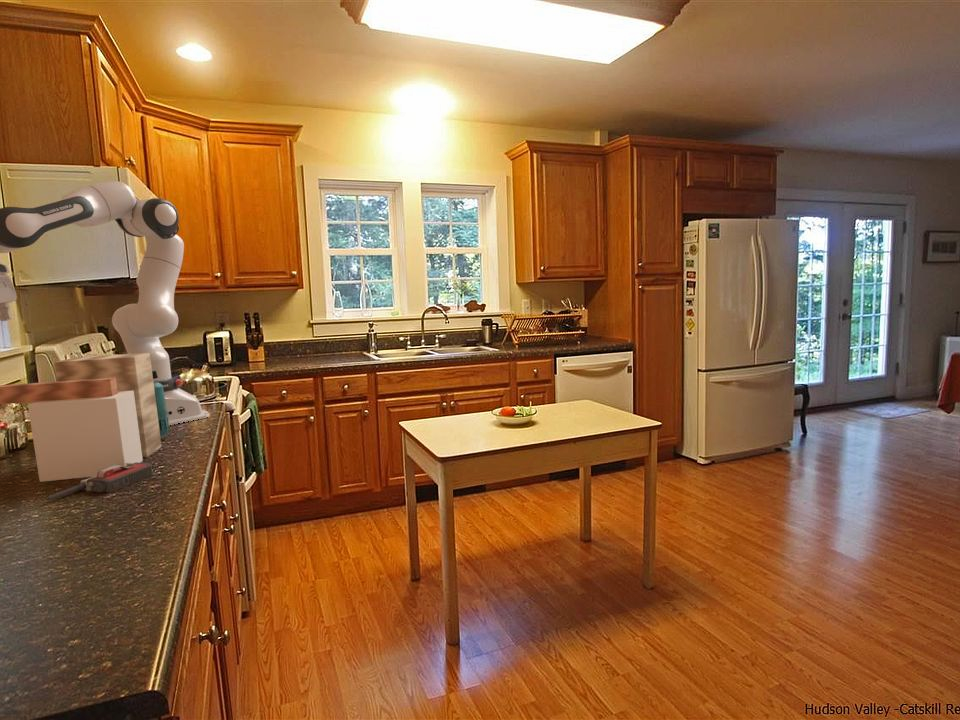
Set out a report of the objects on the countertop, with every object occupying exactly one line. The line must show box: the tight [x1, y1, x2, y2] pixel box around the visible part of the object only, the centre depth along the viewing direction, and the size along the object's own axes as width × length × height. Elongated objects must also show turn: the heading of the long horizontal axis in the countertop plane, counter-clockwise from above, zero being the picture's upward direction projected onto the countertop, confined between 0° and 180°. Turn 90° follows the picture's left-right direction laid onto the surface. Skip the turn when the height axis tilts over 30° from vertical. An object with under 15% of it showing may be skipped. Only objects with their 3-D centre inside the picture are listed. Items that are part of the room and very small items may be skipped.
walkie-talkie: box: [45, 462, 154, 502], centre depth 123 cm, size 9×4×20 cm
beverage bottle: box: [152, 371, 170, 437], centre depth 161 cm, size 6×7×20 cm
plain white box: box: [27, 391, 144, 483], centre depth 134 cm, size 18×10×18 cm, turn 101°
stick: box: [0, 377, 118, 405], centre depth 132 cm, size 24×3×4 cm, turn 101°
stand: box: [53, 353, 162, 459], centre depth 146 cm, size 18×10×26 cm, turn 101°
